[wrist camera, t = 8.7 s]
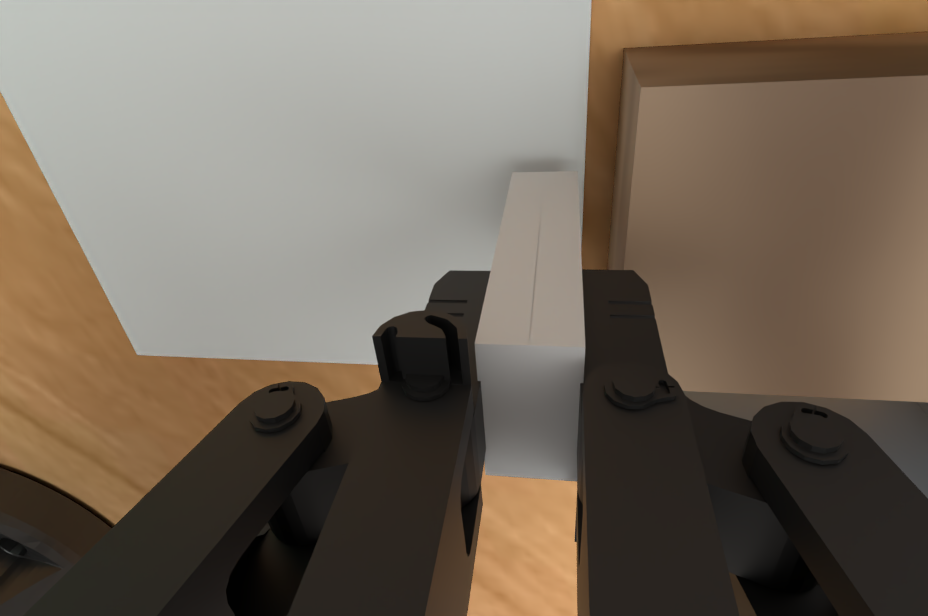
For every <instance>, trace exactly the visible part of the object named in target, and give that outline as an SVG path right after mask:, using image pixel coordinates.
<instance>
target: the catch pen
mask: <svg viewBox="0 0 928 616" xmlns="http://www.w3.org/2000/svg"><path fill="white" fill-rule="evenodd" d="M683 392H684V394H685V396H687V397H688V398H689V399H691V400H692V401H694V402H696V403H698V404H700V405H702V406H704V407H706V408H709V409H712V410H715V411H718V412H721V413H724V414H728V415H732V416H735V417H739V418H743V419H746V420H750V421H752V419H753V416H754V415H756V414H757V413H758V412H759V411H760V410H761V409H762V408H763V407H764V406H768V405H771V404H775V403H778V402H805V403H809V404H813V405H817V406H821V407H825V408H828V409H830V410H832V411H834V412H836V413H838V414H840V415H842V416H844V417H846V418H848V419H850V420H851V421H852V422H854V423H855V424H856V425H857V426H858V427H860V428H861V429H862V430H863V431H865V432H866V433H867V434H868V435H869V436H870V437H871V438H872V439H873V440H874V441H875V442H876V443H877V445H878V446H879V447H880V448H881V449H882V450H883V451H884V452H885V453H886V454H887V455H888V456H889V457H890V458H891V460H892V461H893V462H894V463H895V464H896V465H897V466H898V467H899V468H900V469H901V470H902V471H903V472H904V473H905V475H906V476H907V477H908V478H909V479H910V480H911V481H912V482H913V483H914V484H915V485H916V486H917V487H918V488H919V489H920V491H921V492H922V493H923V494H924V495H925V496H926V497H927V498H928V402H908V401H887V400H865V399H844V398H823V397H801V396H780V395H758V394H737V393H716V392H694V391H683Z"/></svg>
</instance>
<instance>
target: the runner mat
mask: <svg viewBox="0 0 928 616" xmlns="http://www.w3.org/2000/svg"><path fill="white" fill-rule="evenodd" d="M590 24H591V0H0V92H1V94H2V96H3V98H4V100H5V102H6V103H7V105H8V107H9V109H10V111H11V113H12V115H13V117H14V119H15V121H16V123H17V125H18V127H19V128H20V130H21V132H22V134H23V136H24V138H25V140H26V142H27V144H28V146H29V148H30V150H31V152H32V153H33V155H34V157H35V159H36V161H37V163H38V165H39V167H40V169H41V171H42V173H43V175H44V177H45V178H46V180H47V182H48V184H49V186H50V188H51V190H52V192H53V194H54V196H55V198H56V200H57V202H58V203H59V205H60V207H61V209H62V211H63V213H64V215H65V217H66V219H67V221H68V223H69V225H70V227H71V229H72V230H73V232H74V234H75V236H76V238H77V240H78V242H79V244H80V246H81V248H82V250H83V252H84V254H85V255H86V257H87V259H88V261H89V263H90V265H91V267H92V269H93V271H94V273H95V275H96V277H97V279H98V280H99V282H100V284H101V286H102V288H103V290H104V292H105V294H106V296H107V298H108V300H109V302H110V304H111V305H112V307H113V309H114V311H115V313H116V315H117V317H118V319H119V321H120V323H121V325H122V327H123V329H124V330H125V332H126V334H127V336H128V338H129V340H130V342H131V344H132V346H133V348H134V350H135V352H136V354H137V355H147V356H172V357H197V358H222V359H247V360H272V361H297V362H322V363H347V364H372V365H378V363H377V358H376V353H375V348H374V344H373V339H372V335H373V334H374V333H375V332H376V330H377V329H378V328H379V327H380V325H382V324H384V323H385V322H387V321H388V320H390V319H392V318H393V317H395V316H399V315H402V314H405V313H408V312H412V311H423V310H425V308H426V305H427V303H429V297H430V294H431V292H432V289H433V286H434V284H435V283H436V282H437V281H438V280H439V279H441V278H442V277H443V276H444V275H445V274H446V273H447V272H448V271H450V270H457V271H491V267H492V262H493V258H494V253H495V249H496V244H497V240H498V235H499V231H500V226H501V222H502V217H503V213H504V208H505V204H506V199H507V195H508V190H509V186H510V181H511V177H512V172H557V171H578V190H579V213H580V236H581V248H582V223H583V198H584V173H585V149H586V124H587V99H588V74H589V49H590Z"/></svg>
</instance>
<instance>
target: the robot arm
mask: <svg viewBox="0 0 928 616" xmlns="http://www.w3.org/2000/svg"><path fill="white" fill-rule="evenodd" d="M372 339H373V344H374V348H375V353H376V358H377V363H378V367H379V372H380V377H381V381H382V382H381V384H380V387H379V389H378V390H375V391H373V392H371V393H368V394H365V395H361V396H357V397H352V398H347V399H342V400H337V401H332V402H325V399H324V397H323V395H322V394H321V393H320V391H319V390H318V388H316V387H314V386H312V385H309V384H307V383H304V382H291V381H289V382H283V383H278V384H273V385H270V386H267V387H265V388H263V389H261V390H258V391H256V392H254V393H253V394H251V395H250V396H249V397H247V398H246V399H245V400H243V401H242V402H241V403H239V404H238V405H237V406H236V407H235V408H234V409H233V410H232V411H231V412H230V413H229V414H228V415H227V416H226V417H225V418H224V419H223V420H222V421H221V422H220V423H219V424H218V425H217V426H216V427H215V428H214V429H213V430H212V431H211V432H210V433H209V434H208V435H207V436H206V437H205V438H204V439H203V440H202V441H201V442H200V443H199V444H198V445H197V446H196V447H194V448H193V449H192V450H191V451H190V452H189V453H188V454H187V455H186V456H185V457H184V458H183V459H182V460H181V461H180V462H179V463H178V464H177V465H176V466H175V467H174V468H173V469H172V470H171V471H170V472H169V473H168V474H167V475H166V476H165V477H164V478H163V479H162V480H161V481H160V482H159V483H158V484H157V485H156V486H155V487H154V488H153V489H152V490H151V491H150V492H149V493H148V494H146V495H145V496H144V497H143V498H142V499H141V500H140V501H139V502H138V503H137V504H136V505H135V506H134V507H133V508H132V509H131V510H130V511H129V512H128V513H127V514H126V515H125V516H124V517H123V518H122V519H121V520H120V521H119V522H118V523H117V524H116V525H115V526H114V527H113V528H110V527H109V526H108V525H107V524H105V523H104V522H103V521H102V520H100V519H99V518H97V517H96V516H95V515H93V514H92V513H90V512H89V511H87V510H86V509H84V508H83V507H81V506H80V505H78V504H77V503H75V502H73V501H71V500H70V499H68V498H66V497H65V496H63V495H61V494H59V493H57V492H55V491H54V490H52V489H49V488H47V487H45V486H43V485H41V484H39V483H37V482H35V481H33V480H30V479H28V478H26V477H23V476H21V475H18V474H16V473H13V472H10V471H8V470H5V469H2V468H0V616H467V611H468V604H469V597H470V590H471V583H472V576H473V569H474V562H475V554H476V547H477V540H478V533H479V526H480V519H481V512H482V505H483V502H482V491H481V478H482V472H483V465H484V461H485V473H486V475H495V476H509V477H523V478H537V479H551V480H565V481H577V488H578V489H577V507H576V526H575V542H577V606H578V616H928V498H927V497H926V496H925V495H924V494H923V493H922V492H921V491H920V489H919V488H918V487H917V486H916V485H915V484H914V483H913V482H912V481H911V480H910V479H909V478H908V477H907V476H906V475H905V473H904V472H903V471H902V470H901V469H900V468H899V467H898V466H897V465H896V464H895V463H894V462H893V461H892V460H891V458H890V457H889V456H888V455H887V454H886V453H885V452H884V451H883V450H882V449H881V448H880V447H879V446H878V445H877V443H876V442H875V441H874V440H873V439H872V438H871V437H870V436H869V435H868V434H867V433H866V432H865V431H863V430H862V429H861V428H860V427H858V426H857V425H856V424H855V423H854V422H852V421H851V420H850V419H848V418H846V417H844V416H842V415H840V414H838V413H836V412H834V411H832V410H830V409H828V408H825V407H821V406H817V405H813V404H809V403H805V402H778V403H775V404H771V405H768V406H764V407H763V408H762V409H761V410H760V411H759V412H758V413H757V414H756V415H754V416H753V419H752V421H750V420H746V419H743V418H739V417H735V416H732V415H728V414H724V413H721V412H718V411H715V410H712V409H709V408H706V407H704V406H702V405H700V404H698V403H696V402H694V401H692V400H691V399H689V398H688V397H687V396H685V394H684V392H683V390H682V388H681V387H680V385H679V383H678V381H676V380H675V379H674V378H673V377H672V376H670V375H669V374H668V371H667V367H666V362H665V358H664V353H663V349H662V345H661V340H660V336H659V331H658V327H657V322H656V319H655V314H654V309H653V305H652V300H651V296H650V292H649V287H648V284H647V283H646V282H645V281H644V280H643V279H642V278H641V277H640V276H639V275H638V274H637V273H636V272H635V271H634V270H582V258H581V236H580V213H579V190H578V171H557V172H512V177H511V181H510V186H509V190H508V195H507V199H506V204H505V208H504V213H503V217H502V222H501V226H500V231H499V235H498V240H497V244H496V249H495V253H494V258H493V262H492V267H491V271H457V270H450V271H448V272H447V273H446V274H445V275H444V276H443V277H442V278H441V279H439V280H438V281H437V282H436V283H435V284H434V286H433V289H432V292H431V294H430V297H429V303H427V305H426V308H425V310H423V311H412V312H408V313H405V314H402V315H399V316H395V317H393V318H392V319H390V320H388V321H387V322H385V323H384V324H382V325H380V327H379V328H378V329H377V330H376V332H375V333H374V334H373V335H372Z"/></svg>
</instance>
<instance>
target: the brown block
mask: <svg viewBox="0 0 928 616" xmlns="http://www.w3.org/2000/svg"><path fill="white" fill-rule="evenodd" d="M607 270H634V271H635V272H636V273H637V274H638V275H639V276H640V277H641V278H642V279H643V280H644V281H645V282H646V283H647V284H648V287H649V292H650V296H651V300H652V305H653V309H654V314H655V319H656V322H657V327H658V331H659V336H660V340H661V345H662V349H663V353H664V358H665V362H666V367H667V371H668V374H669V375H670V376H672V377H673V378H674V379H675V380H676V381H678V383H679V385H680V387H681V388H682V390H683V391H694V392H716V393H737V394H758V395H780V396H801V397H823V398H844V399H865V400H887V401H908V402H928V32H914V33H896V34H877V35H859V36H841V37H822V38H804V39H785V40H767V41H748V42H730V43H711V44H693V45H674V46H656V47H637V48H624V54H623V67H622V80H621V94H620V107H619V120H618V133H617V146H616V159H615V172H614V186H613V199H612V212H611V225H610V238H609V251H608V264H607Z"/></svg>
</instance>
